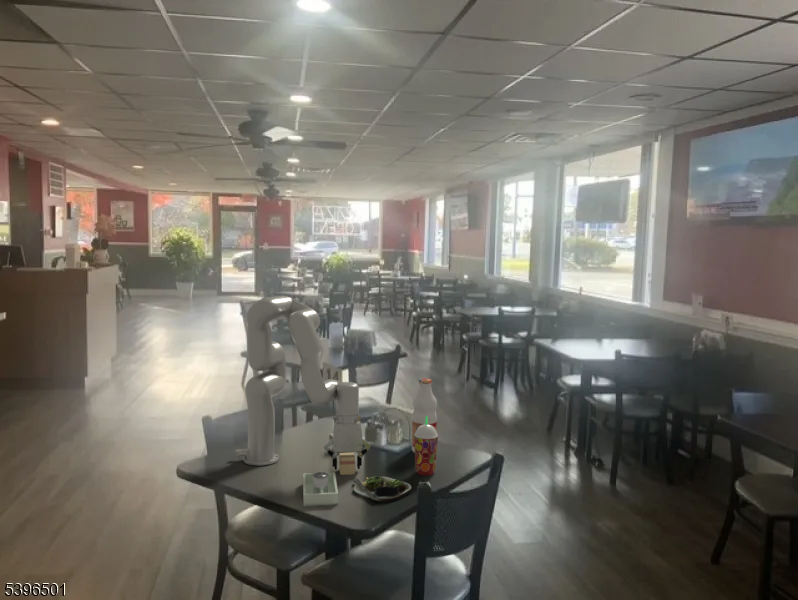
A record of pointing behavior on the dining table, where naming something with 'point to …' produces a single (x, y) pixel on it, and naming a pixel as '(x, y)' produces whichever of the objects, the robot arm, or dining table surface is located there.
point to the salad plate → (382, 489)
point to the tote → (319, 498)
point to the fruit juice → (424, 408)
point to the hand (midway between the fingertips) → (347, 467)
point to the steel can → (320, 482)
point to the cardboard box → (346, 463)
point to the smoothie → (425, 449)
